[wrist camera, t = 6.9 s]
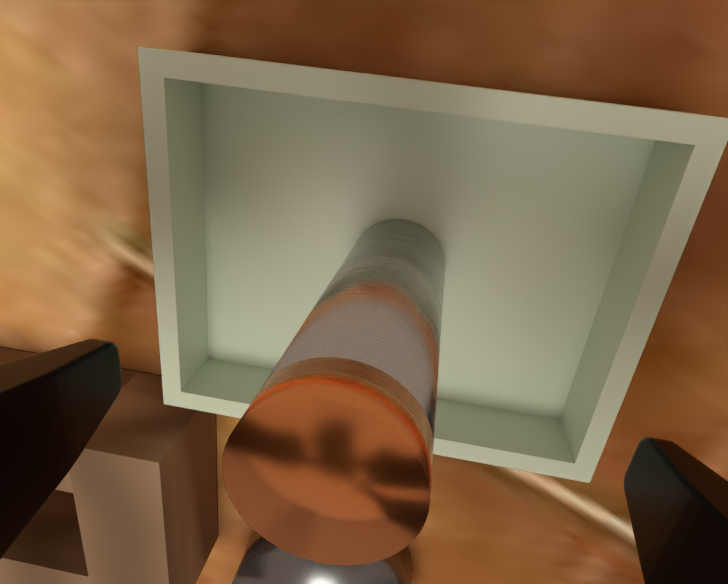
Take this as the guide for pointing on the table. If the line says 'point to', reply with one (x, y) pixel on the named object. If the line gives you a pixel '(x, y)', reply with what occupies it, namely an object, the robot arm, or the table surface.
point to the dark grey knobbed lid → (315, 568)
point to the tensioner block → (127, 498)
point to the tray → (436, 213)
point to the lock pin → (349, 410)
